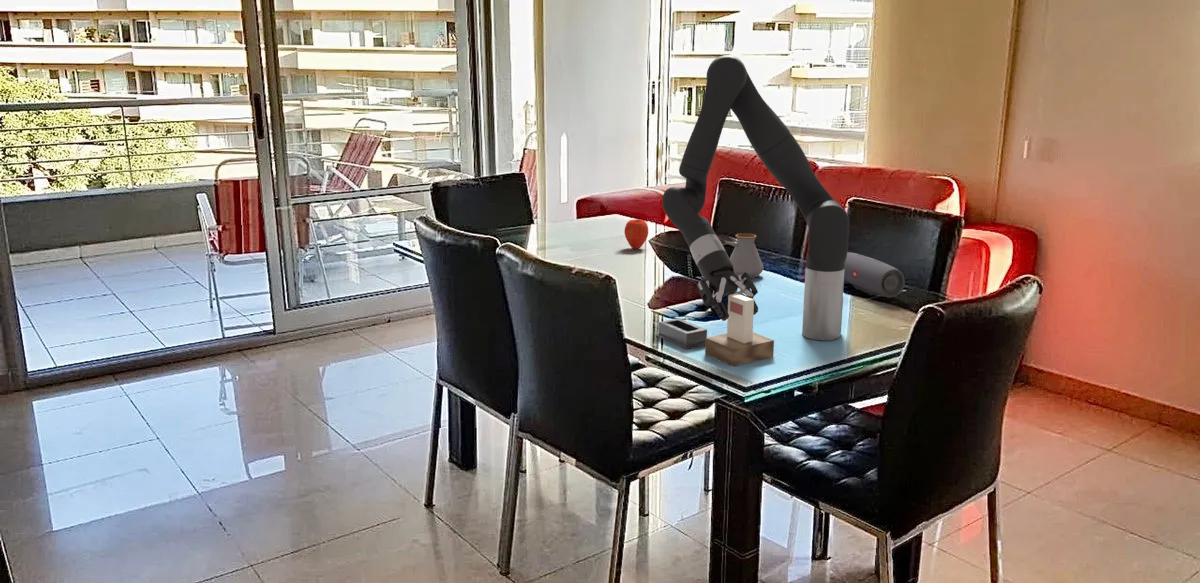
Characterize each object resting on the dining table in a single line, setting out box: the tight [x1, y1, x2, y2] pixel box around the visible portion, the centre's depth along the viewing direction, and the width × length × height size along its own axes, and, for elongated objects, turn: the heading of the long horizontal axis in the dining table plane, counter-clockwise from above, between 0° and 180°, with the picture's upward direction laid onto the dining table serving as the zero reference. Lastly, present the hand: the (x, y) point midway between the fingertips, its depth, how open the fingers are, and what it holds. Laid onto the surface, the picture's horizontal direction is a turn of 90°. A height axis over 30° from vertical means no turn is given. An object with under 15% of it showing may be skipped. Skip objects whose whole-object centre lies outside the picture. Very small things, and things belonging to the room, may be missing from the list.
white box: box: [726, 294, 755, 343], centre depth 212 cm, size 3×6×10 cm, turn 31°
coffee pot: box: [717, 233, 764, 279], centre depth 284 cm, size 21×12×15 cm, turn 108°
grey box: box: [655, 317, 708, 350], centre depth 226 cm, size 7×12×4 cm, turn 32°
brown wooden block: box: [704, 331, 775, 367], centre depth 214 cm, size 12×10×4 cm
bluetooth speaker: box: [844, 251, 906, 298], centre depth 267 cm, size 23×9×10 cm, turn 18°
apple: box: [624, 218, 649, 250], centre depth 325 cm, size 9×8×11 cm
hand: (740, 316), depth 212 cm, fingers open, 8 cm apart
